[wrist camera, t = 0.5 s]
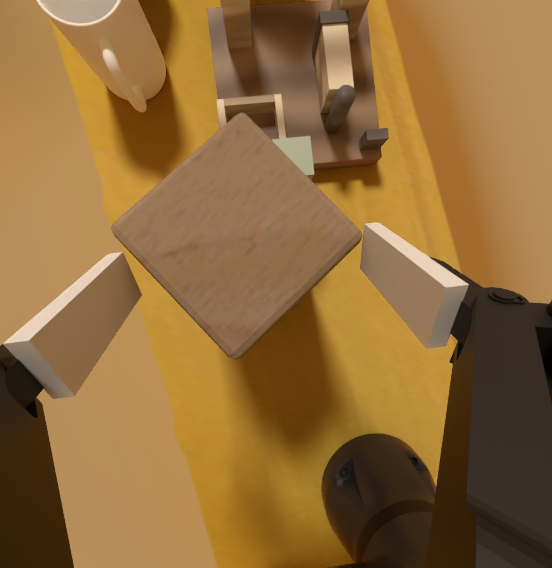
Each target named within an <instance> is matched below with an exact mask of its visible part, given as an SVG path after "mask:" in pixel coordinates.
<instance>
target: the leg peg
mask: <svg viewBox="0 0 552 568" xmlns="http://www.w3.org/2000/svg"><path fill="white" fill-rule="evenodd" d="M272 141H273V142H274V143H275V144H276V145H277V146H278V147H279V148H280V149H281V150H282V151H283V152H284V153H285V154H286V155H287V156H288V157H289V158H290V160H291V161H292V162H293V163H294V164H295V165H296V166H297V167H298V168H299V169H300V170H301V171H302V172H303V173H304V174H305V175H306V176H307V177H308V178H309V179H310V180H312V178H313V176H314V165H313V157H312V148H311V139H310V136H303V137H292V138H282V139H272Z"/></svg>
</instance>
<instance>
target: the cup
mask: <svg viewBox="0 0 552 568" xmlns="http://www.w3.org/2000/svg"><path fill="white" fill-rule="evenodd" d="M36 1H37V3H38V4H39V6H40V7H41V8H42V9H43V11H44V12H45V13H46V14H47V15H48V17H49V18H50V19H51V20H52V22H53V23H54V24H55V25H56V26H57V28H58V29H59V30H60V31H61V32H62V34H63V35H64V36H65V37H66V38H67V40H68V41H69V42H70V43H71V44H72V46H73V47H74V48H75V49H76V50H77V52H78V53H79V54H80V55H81V56H82V58H83V59H84V60H85V61H86V63H87V64H88V65H89V66H90V67H91V69H92V70H93V71H94V72H95V73H96V75H97V76H98V77H99V78H100V79H101V81H102V82H103V83H104V84H105V85H106V86H107V87H108V88H109V89H110V90H111V91H112V92H113V93H114V94H115V95H117V96H118V97H120V98H122V99H125V100H128V101H129V102H130V104H131V105H132V106H133V107H134V108H135V109H136V110H137V111H139V112H145V110H146V107H147V106H146V100H148V99H150V98H152V97H154V96H155V95H156V94H157V93H158V92H159V91H160V90H161V88H162V86H163V84H164V81H165V77H166V65H165V61H164V57H163V55H162V52H161V50H160V47H159V45H158V43H157V41H156V39H155V36H154V34H153V32H152V30H151V28H150V25H149V23H148V21H147V19H146V17H145V14H144V12H143V10H142V8H141V6H140V4H139V1H138V0H36Z"/></svg>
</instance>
